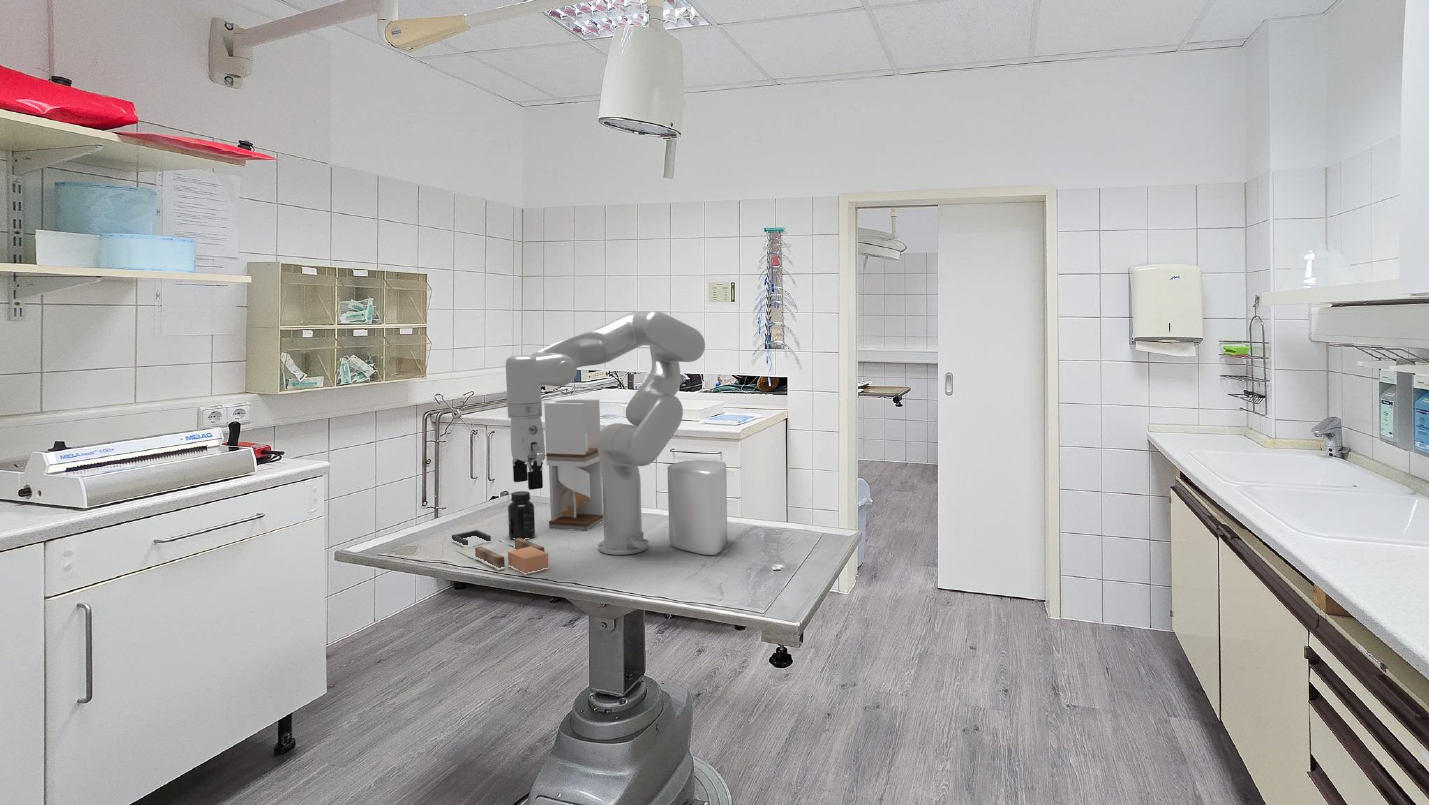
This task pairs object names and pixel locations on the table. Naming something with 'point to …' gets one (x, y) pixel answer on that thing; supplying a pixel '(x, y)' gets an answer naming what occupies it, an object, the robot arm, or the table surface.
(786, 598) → the table surface
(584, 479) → the display case
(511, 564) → the block
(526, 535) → the supplement bottle
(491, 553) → the channel
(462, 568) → the table surface
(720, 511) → the grey rounded upright block
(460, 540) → the black u-shaped bracket
